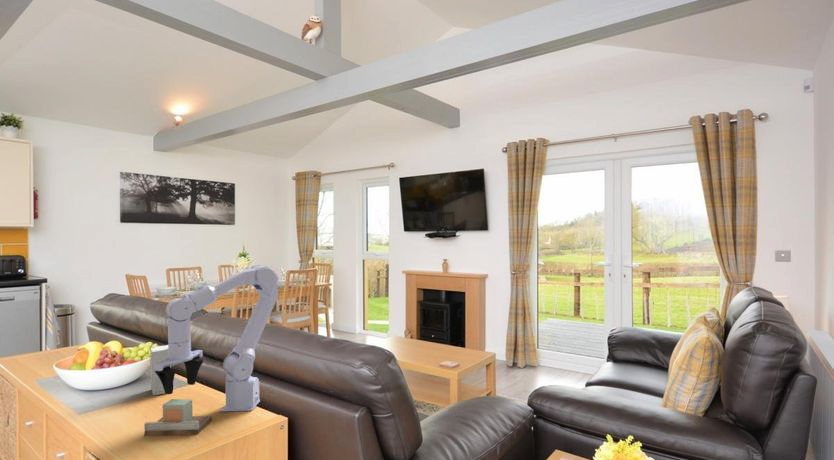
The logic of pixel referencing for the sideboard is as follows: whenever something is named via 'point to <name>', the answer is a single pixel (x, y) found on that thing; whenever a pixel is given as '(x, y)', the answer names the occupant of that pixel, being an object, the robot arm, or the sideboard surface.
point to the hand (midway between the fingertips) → (180, 388)
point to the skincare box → (156, 356)
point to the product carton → (177, 410)
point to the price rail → (171, 425)
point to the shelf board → (202, 424)
